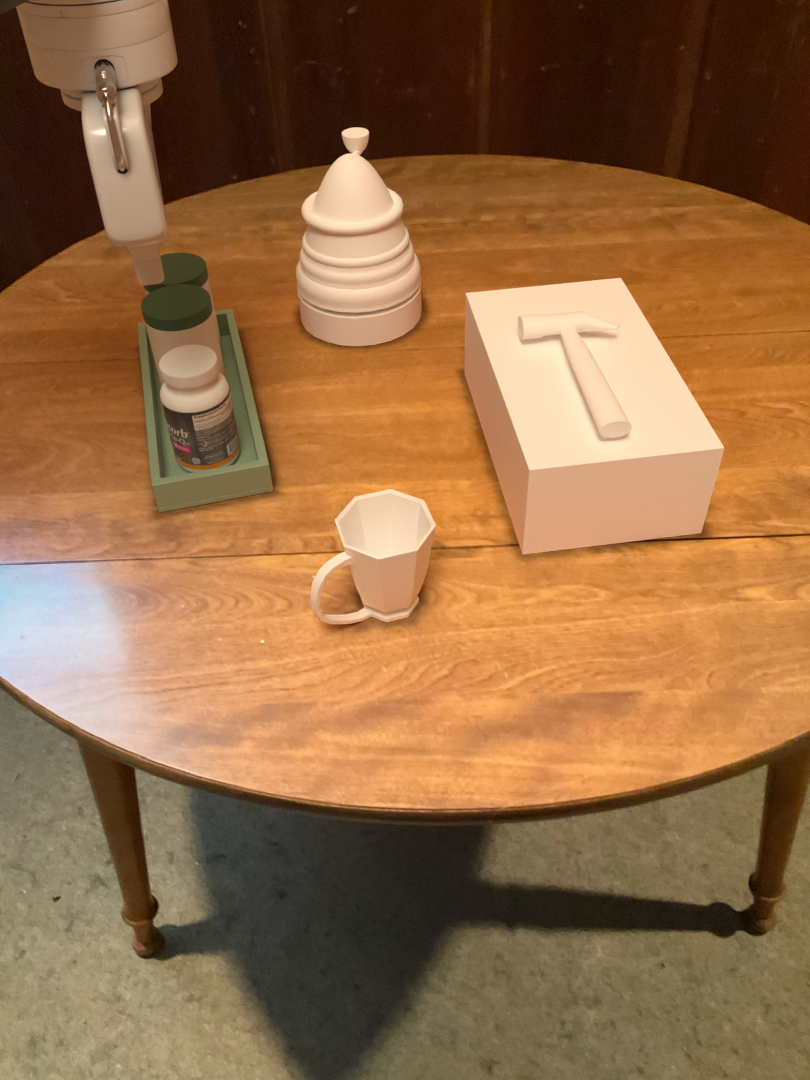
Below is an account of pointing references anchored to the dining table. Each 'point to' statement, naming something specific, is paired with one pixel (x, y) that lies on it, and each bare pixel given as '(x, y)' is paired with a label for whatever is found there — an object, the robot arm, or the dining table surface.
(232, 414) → the pill bottle
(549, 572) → the dining table surface
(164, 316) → the white bottle
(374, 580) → the cup
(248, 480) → the bottle tray
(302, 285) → the honey pot
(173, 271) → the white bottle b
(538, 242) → the dining table surface
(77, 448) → the dining table surface
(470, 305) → the hammer embossed box
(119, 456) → the dining table surface
